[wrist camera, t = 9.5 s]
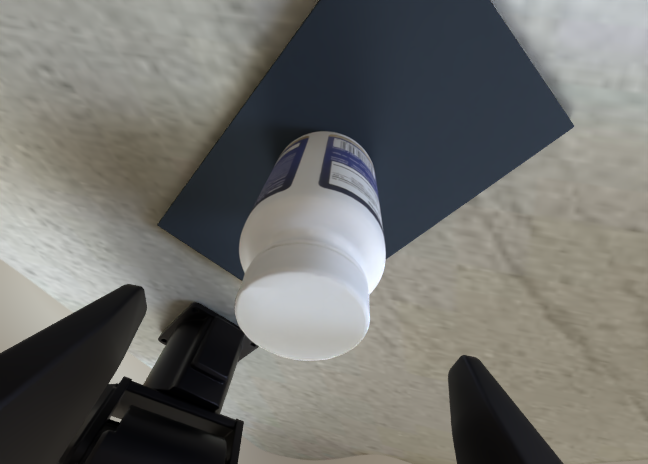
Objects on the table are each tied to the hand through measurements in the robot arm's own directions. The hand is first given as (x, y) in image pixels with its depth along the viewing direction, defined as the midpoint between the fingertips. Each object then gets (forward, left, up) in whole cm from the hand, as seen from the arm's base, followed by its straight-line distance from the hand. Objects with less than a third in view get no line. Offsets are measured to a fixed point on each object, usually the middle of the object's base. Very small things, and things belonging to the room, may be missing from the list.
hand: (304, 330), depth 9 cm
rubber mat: (0, 0, -11) cm, 11 cm away
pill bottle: (0, 0, -10) cm, 10 cm away
